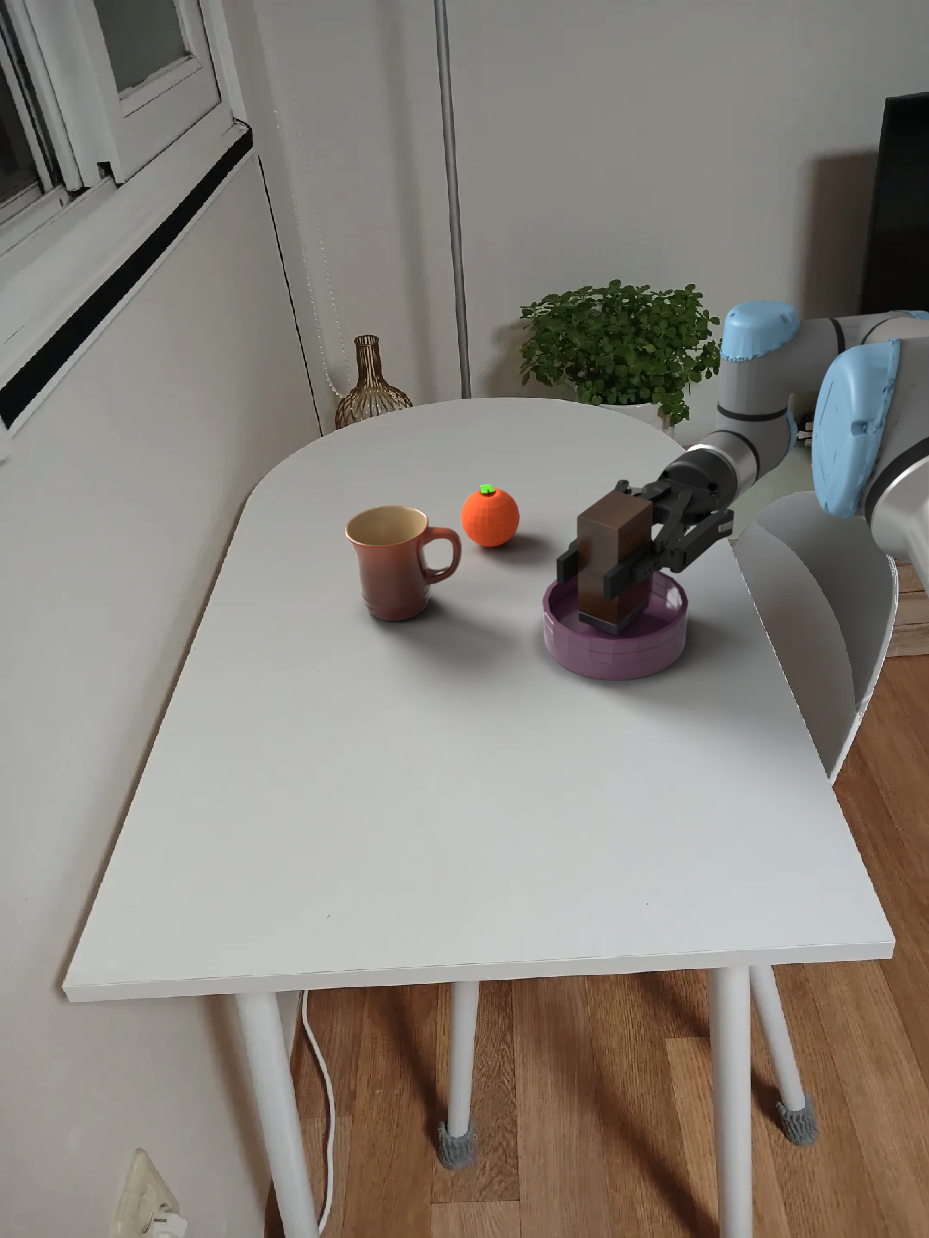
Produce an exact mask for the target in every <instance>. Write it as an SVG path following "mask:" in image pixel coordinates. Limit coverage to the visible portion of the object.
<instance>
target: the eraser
mask: <svg viewBox="0 0 929 1238" xmlns="http://www.w3.org/2000/svg"><path fill="white" fill-rule="evenodd" d="M613 490H614V489H613ZM613 490H611V491H609V492H608V493H606V494H605V495H604V496H603V497H601V498H599V499H598V500H597V501H596V502H594V503H593V504H592V505H591V506H589V507H588V508H586V509H585V510H584V511H582V512H581V513H580V514H578V515H577V516H576V531H577V530H578V604H579V621H580V622H583V623H585V624H588V625H590V626H593V627H596V628H598V629H601V630H603V631H606V632H608V633H611V634H614V635H616V636H617V635H618V634H619V633H620V632H621V631H622V630H624V629H625V628H626V627H627V626H628V625H629V624H630V623H631V622H632V621H633V620H635V619H636V618H637V617H638V616H639V615H640V614H641V613H642V612H643V611H644V610H646V609H647V608H648V607H649V590H650V576H649V577H648V578H647V579H645V580H644V581H642V582H640V583H638V582H635V581H634V582H633V583H632V584H631V585H630V586H629V587H627V588H626V589H625V590H624V591H623V592H622V593H621V594H619V595H618V596H617V597H616V598H615V599H614V600H612V601H611V602H608V601H605V600H603V575H604V574H606V573H607V572H608V571H609V570H611V569H612V568H613V567H614V566H615V565H617V564H618V563H619V562H620V561H622V560H623V559H624V558H625V557H626V556H628V555H629V554H630V553H631V552H632V551H634V550H635V549H636V548H637V547H639V546H640V545H641V544H643V545H646V546H648V551H650V550H651V538H652V537H653V536H652V534H653V533H652V532H653V526H652V512H653V502H652V501H648V500H645V499H641V498H638V497H634V496H631V495H627V494H624V493H620V492H617V491H613ZM652 539H653V538H652Z"/></svg>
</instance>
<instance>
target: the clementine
mask: <svg viewBox="0 0 929 1238" xmlns="http://www.w3.org/2000/svg"><path fill="white" fill-rule="evenodd" d="M479 487H480V489H478V490H476V491H474V492H473V493H472V494H470V495H469V496H468V498H467V499H466V500H465V501H464V504H463V506H462V509H461V512H460V513H461V515H460V518H461V519H460V520H461V521H460V522H461V525H462V529H463V531H464V533H465V534H466V535H467V537H468V538H469V539H470V540H471V541H472V542H474V543H476V544H478V545H480V546H483V547H492V548H493V547H499V546H501V545H504V543H505V544H506V543H507V542H508V541H509V540H510V539H512V538H513V536H514V535H515V534H516V532H517V530H518V528H519V525H520V518H521V516H520V515H521V514H520V510H519V505H518V504H517V502H516V500H515V499H514V498H513V496H511V494H509V493H508V492H507V491H505V490H503V489H501V488H497V487H494V486H493V485H492V484H490V483H486V484H480V485H479Z"/></svg>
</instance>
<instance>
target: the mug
mask: <svg viewBox="0 0 929 1238" xmlns="http://www.w3.org/2000/svg"><path fill="white" fill-rule="evenodd" d="M429 523H430V521H429V516H427V515H426V514H425V513H424V512H423V511H422V510H420V509H418V508H415V507H414V506H413V507H412V506H408V505H403V504H389V505H380V506H376V507H372V508H369V509H366V510H362V511H361V512H359V513H357V514H356V515H354V516H353V517H351V518H350V519H349V520H348V521H347V523H346V524H345V527H344V536H345V538H346V539H347V541H348V543H349V545H350V546H351V549H352V550H353V553H354V555H355V559H356V563H357V571H358V578H359V585H360V594H361V598H362V601H363V603H364V605H365V608H366V610H367V611H368V613H369V614H370V615H371V616H373V617H375V618H378V619H379V620H382V621H387V622H400V621H405V620H408V619H412V618H413V617H415V616H417V615H419V614H420V613H422V612H423V611H424V610H425V609H426V608H427V607H428V604H429V601H430V595H431V585H435V584H438V583H441V582H443V581H445V580H447V579H449V578H451V577H452V576H453V575H454V574H455V573H456V572H457V570H458V568H459V566H460V563H461V560H462V553H463V552H462V551H463V546H462V540H461V537H460V535H459V534H458V533H457V531H456V530H454V529H452V528H449V527H445V526H444V527H442V526H441V527H439V526H430V524H429ZM442 539H443V540H447V541H449V542H451V545H452V559H451V561H450V562H449V564H448V565H446V566H445V567H442V568H437V569H435V568H430V567H429V565H428V561H427V558H426V557H427V556H426V547H425V546H426V545H428V544H429V543H431V542H433V541H435V540H442Z"/></svg>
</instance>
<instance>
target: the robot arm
mask: <svg viewBox="0 0 929 1238" xmlns="http://www.w3.org/2000/svg"><path fill="white" fill-rule="evenodd" d="M724 321H725V322H724V325H723V333H722V340H721V346H720V348H719V355H720V359H719V360H720V362H719V375H718V376H719V378H718V394H717V395H718V396H717V405H716V413H715V426H714V429H713V430H712V431H711V432H710V433H708V434H707V435H706V436H705V437H703V438H702V439H701V440H700V441H698V442H697V443H695V444H694V445H692V446H691V447H690V448H688V449H686V451H685V452H683V453H682V454H681V455H680V456H678V457H677V458H675V459H674V460H673V461H671V462H670V463H669V464H668V465H667V466H666V467H664V469H663V470H662V472H661V473H660V475H659V476H658V478H657V479H656V480H655V481H652V482H648V483H646V484H645V485H643V486H642V487H636V486H635V487H634V486H630V481H629V480H628V479H619V480H618V481H617V482H616V485H615V487H614V488H613V491H617V492H620V493H624V494H627V495H631V496H634V497H638V498H641V499H645V500H648V501H652V502H653V512H652V527H655V526H656V525H662V527H661V528H660V530H659V532H658V533H657V534H656V536H655V537H654V538H651V550H650V551H648V546H646V545H643V544H641V545H640V546H639V547H637V548H636V549H635V550H634V551H632V552H631V553H630V554H629V555H628V556H626V557H625V558H624V559H623V560H622V561H620V562H619V563H618V564H617V565H615V566H614V567H613V568H612V569H611V570H609V571H608V572H607V573H606V574H604V575H603V600H605V601H608V602H611V601H612V600H614V599H615V598H616V597H617V596H618V595H619V594H621V593H622V592H623V591H624V590H625V589H626V588H627V587H629V586H630V585H631V584H632V583H633V582H634V581H635V582H638V583H640V582H642V581H644V580H645V579H647V578H648V577H649V576H650V575H651V574H652V573H653V572H655V571H662V570H663V569H669V571H670V572H671V573H672V574H680V573H683V571H685V570H687V568H688V567H690V566H691V565H692V564H693V563H694V562H695V561H696V560H697V559H698V558H699V557H701V556H702V555H703V554H705V552H706V551H707V550H709V549H710V548H711V547H712V546H713V545H714V544H715V543H717V542H718V541H720V540H722V539H725V538H728V537H730V536H732V535H733V529H734V519H735V510H733V509H731V508H729V507H730V506H731V505H732V504H734V503H735V502H736V501H737V500H739V498H741V497H742V496H743V495H745V493H747V492H748V490H749V489H751V488H752V487H753V486H754V485H755V484H756V483H757V482H758V481H759V480H761V479H762V478H763V477H764V476H766V475H767V474H768V473H770V472H771V471H773V470H774V469H776V468H777V467H779V466H780V465H781V463H782V462H783V461H784V459H785V458H786V457H787V456H788V455H789V453H790V452H791V451H792V450H793V448H794V447H795V444H796V443H797V439H798V425H797V423H796V420H795V418H794V414H793V413H792V412H791V410H790V409H789V400H790V397H791V394H798V393H799V394H800V393H811V392H812V393H813V392H819V393H818V397H817V400H816V401H817V402H816V405H815V412H814V418H813V424H812V425H813V427H812V437H811V438H812V439H811V468H812V471H811V472H812V480H813V487H814V491H815V495H816V498H817V501H818V503H819V506H820V507H821V509H822V510H823V512H825V514H827V515H829V516H832V517H836V518H837V517H841V518H842V519H843V520H850V519H852V518H854V516H861V517H863V518H864V520H865V522H866V524H867V526H868V529H869V531H870V534H871V536H872V538H873V540H874V542H875V544H876V546H877V547H878V549H880V551H882V552H883V553H884V554H886V555H887V556H889V557H891V558H892V559H895V560H898V561H901V562H905V563H908V564H909V563H910V564H911V565H912V566H913V568H914V570H915V572H916V575H917V576H918V579H919V581H920V583H921V585H922V587H923V589H924V592H925V594H926V596H927V598H928V599H929V311H925V310H903V309H901V310H898V309H897V310H890V311H888V312H882V313H872V314H861V315H852V316H851V315H850V316H842V317H834V318H833V317H828V318H827V317H825V318H824V317H823V318H814V319H813V318H812V319H802V320H800V314H799V310H798V309H797V308H796V307H795V306H794V305H792V304H790V303H788V302H785V301H781V300H765V299H757V300H749V301H745V302H741V303H739V304H737V305H735V306H733V308H731V309H730V310H729V312H728V313H727V315H726V317H725V320H724ZM692 527H693V528H692ZM691 528H692V529H691ZM690 529H691V530H690ZM688 530H689V531H688ZM687 532H688V533H687ZM555 561H556V579H557V583H559V584H561V585H565V584H566V583H567V582H568V581H570V580H571V579H572V578H573V577H574V576H576V575H577V574H578V530H577V529H576V538H575V539H573V540H572V541H571V542H569V544H568V549H567V550H566V551H565V552H563V553H562V554H561V555H559V556H558V557H557V558H556V560H555Z"/></svg>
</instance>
